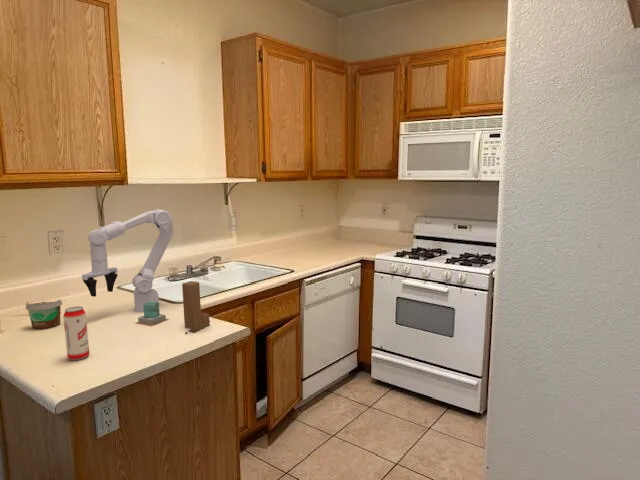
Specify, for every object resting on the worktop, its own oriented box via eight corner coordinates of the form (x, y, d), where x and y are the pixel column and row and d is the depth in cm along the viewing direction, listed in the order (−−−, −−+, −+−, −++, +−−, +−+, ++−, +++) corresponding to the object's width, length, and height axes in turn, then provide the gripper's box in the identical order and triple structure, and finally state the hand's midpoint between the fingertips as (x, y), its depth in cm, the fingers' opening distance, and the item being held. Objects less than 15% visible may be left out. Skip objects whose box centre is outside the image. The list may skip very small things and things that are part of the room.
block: (148, 314, 176) (147, 302, 176) (159, 314, 177) (158, 301, 176) (144, 318, 172) (143, 305, 171) (156, 317, 172) (155, 304, 171)
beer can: (93, 353, 147) (88, 305, 145) (84, 361, 141) (79, 311, 139) (73, 353, 147) (69, 306, 145) (63, 361, 141) (58, 312, 138)
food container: (22, 332, 168) (19, 306, 166) (28, 327, 174) (25, 301, 172) (60, 329, 171) (57, 303, 169) (64, 323, 177) (61, 298, 175)
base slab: (152, 321, 181) (152, 316, 180) (169, 324, 177) (169, 319, 176) (134, 328, 173) (134, 323, 172) (151, 331, 169) (151, 326, 168)
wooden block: (200, 323, 175) (198, 278, 172) (210, 325, 173) (207, 279, 170) (184, 331, 167) (181, 283, 164) (194, 332, 165) (191, 284, 162)
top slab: (153, 317, 179) (152, 312, 179) (165, 319, 176) (165, 314, 176) (138, 322, 173) (138, 317, 173) (151, 325, 170) (151, 320, 169)
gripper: (108, 256, 187) (110, 288, 189) (75, 262, 174) (78, 297, 176) (120, 257, 183) (122, 290, 185) (87, 264, 171) (90, 299, 173)
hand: (102, 293), depth 180 cm, fingers open, 7 cm apart
